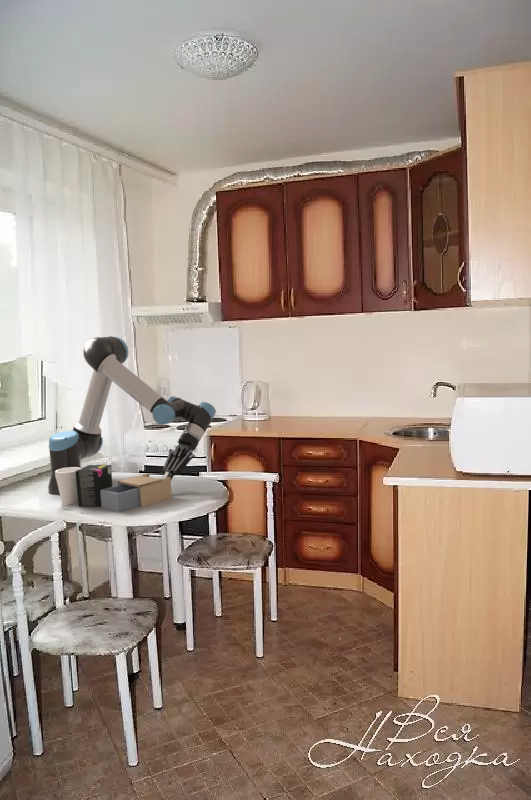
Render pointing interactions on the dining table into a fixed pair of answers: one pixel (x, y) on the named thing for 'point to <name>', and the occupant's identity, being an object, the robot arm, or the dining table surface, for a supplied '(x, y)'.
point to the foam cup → (67, 485)
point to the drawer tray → (120, 498)
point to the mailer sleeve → (150, 488)
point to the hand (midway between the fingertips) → (161, 488)
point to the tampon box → (92, 484)
